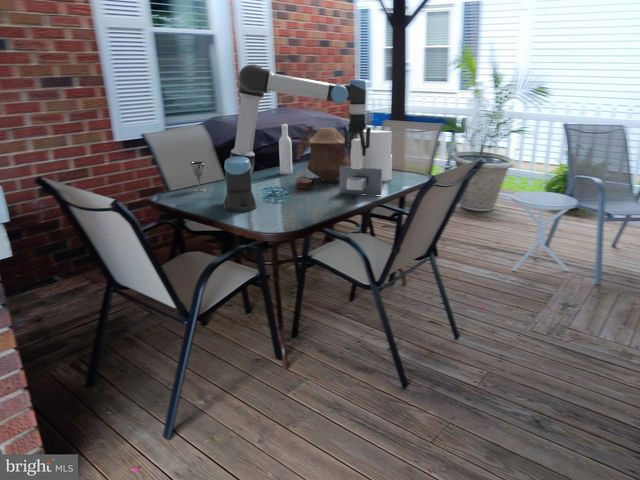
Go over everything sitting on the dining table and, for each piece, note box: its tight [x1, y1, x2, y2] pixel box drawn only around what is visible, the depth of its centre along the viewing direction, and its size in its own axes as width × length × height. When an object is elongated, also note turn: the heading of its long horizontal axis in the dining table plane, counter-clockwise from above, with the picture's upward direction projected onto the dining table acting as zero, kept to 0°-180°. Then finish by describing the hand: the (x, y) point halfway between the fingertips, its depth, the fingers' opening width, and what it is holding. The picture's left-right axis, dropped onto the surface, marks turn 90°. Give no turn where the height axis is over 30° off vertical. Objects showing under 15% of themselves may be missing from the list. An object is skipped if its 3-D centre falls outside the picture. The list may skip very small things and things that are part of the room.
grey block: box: [339, 166, 383, 196], centre depth 244 cm, size 12×22×14 cm, turn 70°
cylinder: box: [363, 129, 393, 181], centre depth 281 cm, size 17×17×28 cm
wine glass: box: [189, 160, 207, 193], centre depth 262 cm, size 8×8×15 cm
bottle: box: [278, 123, 294, 175], centre depth 299 cm, size 8×8×30 cm
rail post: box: [350, 138, 363, 169], centre depth 237 cm, size 4×4×14 cm
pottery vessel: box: [306, 127, 351, 181], centre depth 279 cm, size 26×26×30 cm
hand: (357, 161), depth 238 cm, fingers closed on rail post, 4 cm apart
